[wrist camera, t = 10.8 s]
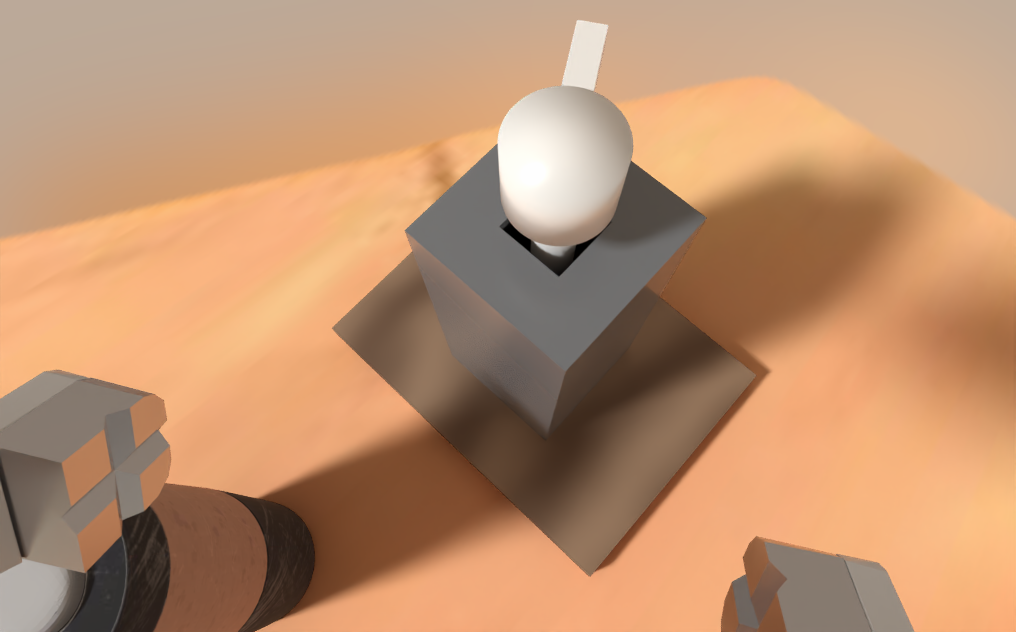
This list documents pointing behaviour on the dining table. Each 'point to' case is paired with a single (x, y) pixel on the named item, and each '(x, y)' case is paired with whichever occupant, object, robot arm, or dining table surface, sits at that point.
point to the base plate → (581, 436)
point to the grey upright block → (546, 289)
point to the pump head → (565, 157)
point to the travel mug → (173, 571)
